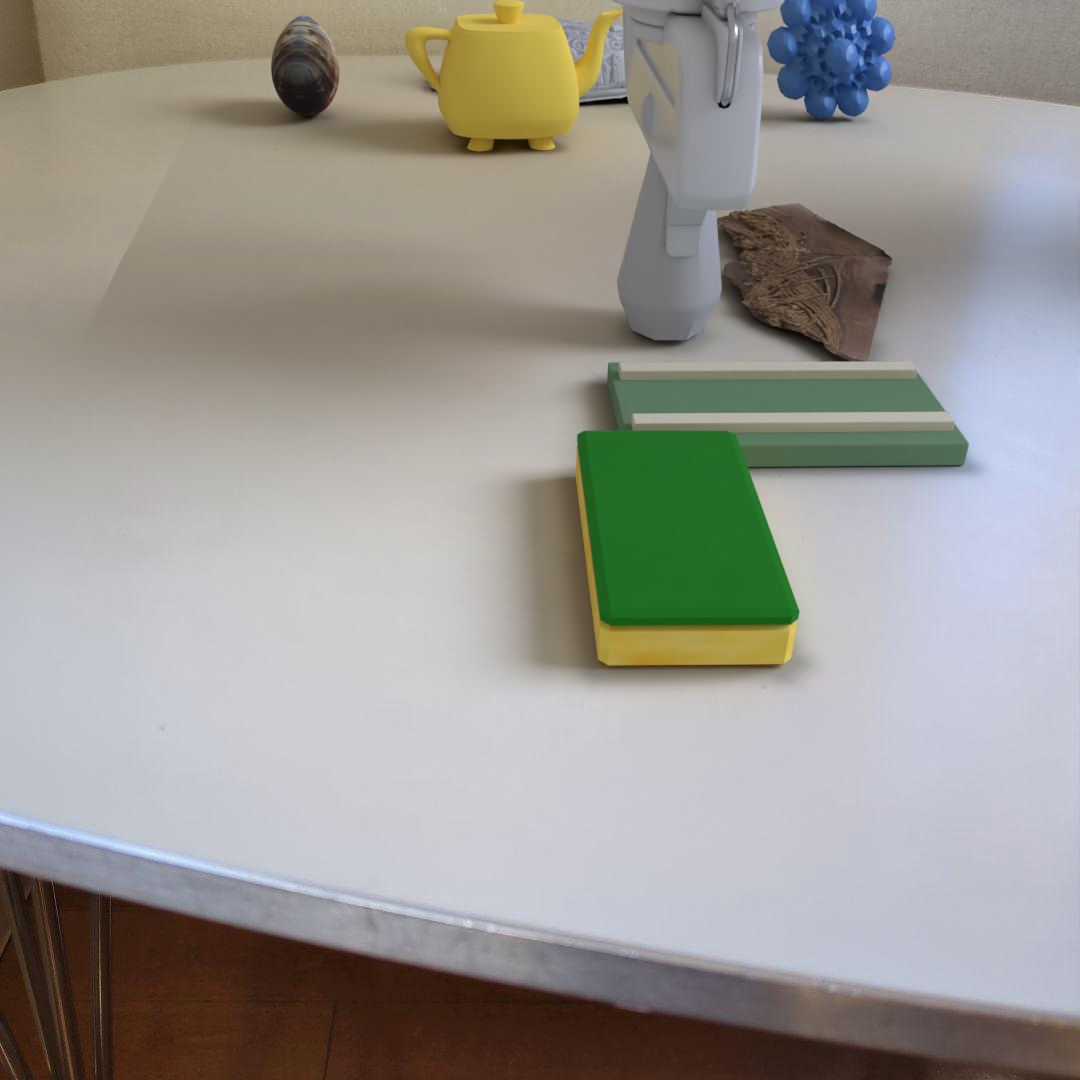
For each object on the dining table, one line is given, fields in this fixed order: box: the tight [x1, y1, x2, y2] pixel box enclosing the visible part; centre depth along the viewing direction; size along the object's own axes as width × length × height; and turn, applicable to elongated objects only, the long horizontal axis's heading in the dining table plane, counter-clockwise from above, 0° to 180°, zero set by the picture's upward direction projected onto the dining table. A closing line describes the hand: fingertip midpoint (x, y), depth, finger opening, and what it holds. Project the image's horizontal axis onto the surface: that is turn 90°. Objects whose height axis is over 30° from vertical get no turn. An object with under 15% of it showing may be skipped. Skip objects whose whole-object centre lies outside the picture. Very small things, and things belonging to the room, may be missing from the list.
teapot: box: [404, 0, 623, 152], centre depth 99 cm, size 18×11×11 cm, turn 98°
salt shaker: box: [616, 92, 723, 341], centre depth 65 cm, size 6×6×13 cm
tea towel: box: [606, 360, 970, 468], centre depth 59 cm, size 16×9×2 cm, turn 93°
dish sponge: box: [575, 430, 800, 666], centre depth 49 cm, size 7×14×2 cm, turn 2°
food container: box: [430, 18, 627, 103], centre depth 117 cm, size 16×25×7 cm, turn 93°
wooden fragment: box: [717, 202, 893, 362], centre depth 76 cm, size 26×11×1 cm, turn 176°
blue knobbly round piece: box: [766, 0, 896, 121], centre depth 105 cm, size 12×7×12 cm, turn 96°
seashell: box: [270, 14, 340, 117], centre depth 104 cm, size 10×6×8 cm, turn 2°
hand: (673, 238), depth 66 cm, fingers closed on salt shaker, 3 cm apart
